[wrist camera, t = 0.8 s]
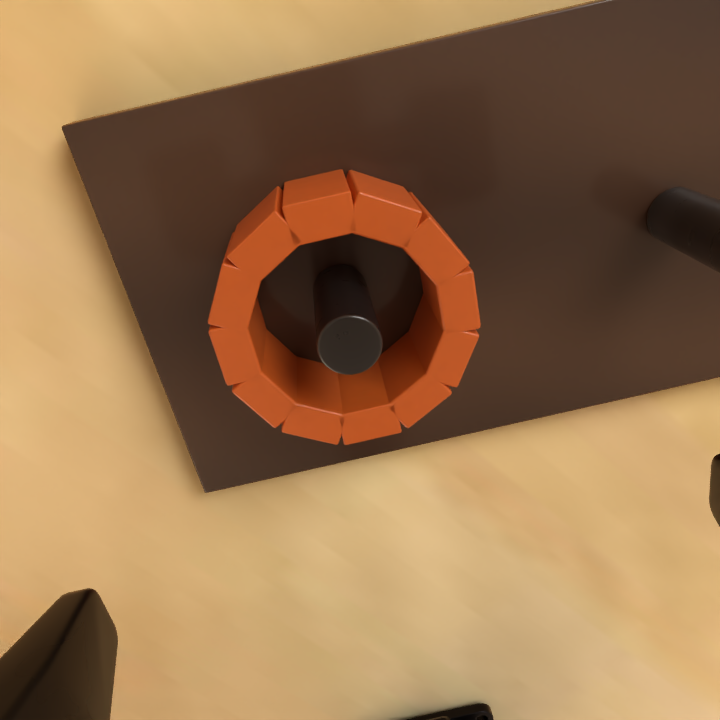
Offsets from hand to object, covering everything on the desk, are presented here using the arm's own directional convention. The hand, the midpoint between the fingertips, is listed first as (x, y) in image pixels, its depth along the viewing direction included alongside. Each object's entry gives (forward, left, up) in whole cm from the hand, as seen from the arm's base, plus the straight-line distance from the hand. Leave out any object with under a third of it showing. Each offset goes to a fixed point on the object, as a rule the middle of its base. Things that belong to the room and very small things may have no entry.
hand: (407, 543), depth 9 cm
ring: (0, 0, -11) cm, 11 cm away
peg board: (0, -5, -12) cm, 13 cm away
